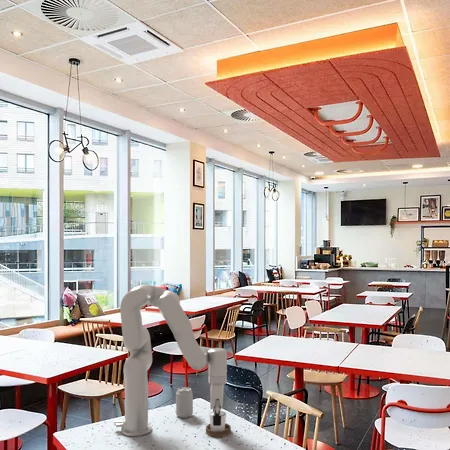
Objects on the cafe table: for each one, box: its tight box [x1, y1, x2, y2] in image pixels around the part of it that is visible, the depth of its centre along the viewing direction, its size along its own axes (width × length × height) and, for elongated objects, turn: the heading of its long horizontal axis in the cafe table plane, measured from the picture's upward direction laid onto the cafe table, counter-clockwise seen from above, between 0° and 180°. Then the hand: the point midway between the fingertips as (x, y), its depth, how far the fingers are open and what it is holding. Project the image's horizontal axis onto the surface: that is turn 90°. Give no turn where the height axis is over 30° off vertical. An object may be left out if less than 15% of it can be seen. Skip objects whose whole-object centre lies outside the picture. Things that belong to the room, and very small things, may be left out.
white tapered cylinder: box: [208, 410, 227, 431], centre depth 200 cm, size 7×7×7 cm
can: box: [175, 386, 194, 419], centre depth 220 cm, size 8×8×12 cm
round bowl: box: [205, 422, 232, 438], centre depth 200 cm, size 10×10×2 cm
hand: (216, 420), depth 200 cm, fingers open, 9 cm apart
